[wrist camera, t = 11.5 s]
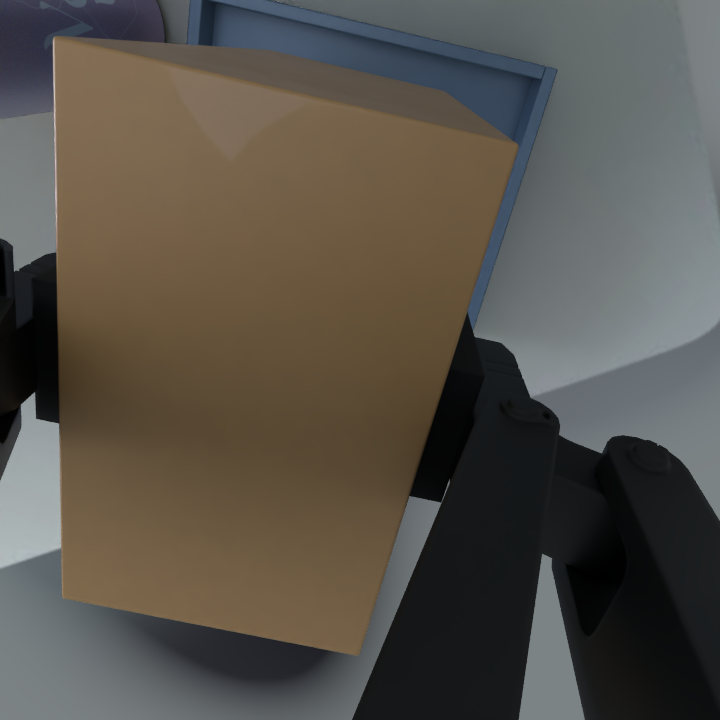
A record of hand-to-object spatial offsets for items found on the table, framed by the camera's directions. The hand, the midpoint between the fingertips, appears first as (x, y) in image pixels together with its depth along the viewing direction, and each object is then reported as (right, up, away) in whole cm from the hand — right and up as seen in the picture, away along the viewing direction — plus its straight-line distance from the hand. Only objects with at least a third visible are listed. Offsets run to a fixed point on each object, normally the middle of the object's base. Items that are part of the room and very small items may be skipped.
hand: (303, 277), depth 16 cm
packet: (0, +3, +6) cm, 7 cm away
